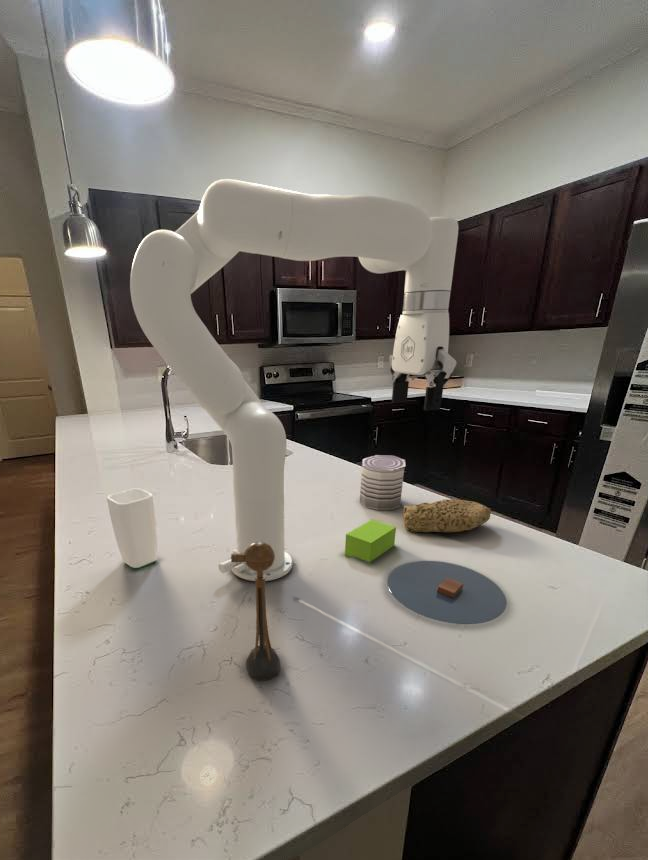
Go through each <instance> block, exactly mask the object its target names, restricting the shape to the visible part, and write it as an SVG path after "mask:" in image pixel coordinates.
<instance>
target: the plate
mask: <svg viewBox="0 0 648 860" xmlns="http://www.w3.org/2000/svg"><path fill="white" fill-rule="evenodd" d="M446 578H450V579H452V580H455V581H458V582H461V583H463V589H462V590H461V591H460V592H459V593H458V594H457V595H456V596H455V597H454V598H451V597H448V596H446V595H443V594H441V593H438V592H437V588H438V586H439V585H440V584H441V583H442V582H443V581H444V580H445V579H446ZM386 583H387V588H388V590H389V592H390V594H391V595H392V596H393V598H394V599H395V600H396V601H397V602H398V603H400V605H402V606H404V607H405V608H406V609H408V610H410V611H412V612H414V613H416V614H418V615H420V616H423V617H425V618H428V619H431V620H435V621H439V622H443V623H449V624H457V625H474V624H475V625H477V624H483V623H486V622H490V621H492V620H495V619H497V618H498V617H500V616H501V615H502V614H503V613H504V612H505V610H506V607H507V598H506V595H505V594H504V592H503V590H502V588H500V586H498V585H497V583H495V582H494V581H493V580H492V579H490V578H489V577H487V576H485V575H484V574H482V573H480V572H478V571H476V570H474V569H472V568H468V567H466V566H462V565H460V564H455V563H450V562H447V561H446V562H445V561H439V560H418V561H412V562H407V563H404V564H401V565H399V566H397V567H396V568H394V569H393V570H392V571H391V572H390V573H389V574H388V576H387V580H386Z"/></svg>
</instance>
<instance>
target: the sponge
mask: <svg viewBox="0 0 648 860" xmlns="http://www.w3.org/2000/svg"><path fill="white" fill-rule="evenodd" d="M491 514H492V510H491V508H490V507H488V506H486V505H484V504H482V503H480V502H476V501H472V500H471V501H470V500H465V499H453V498H452V499H451V498H450V499H442V500H438V501H437V500H436V501H435V502H432V503H429V502H422V503H418V504H412V505H403V510H402V517H403V523H404V525H403V526H404V529H405V530H406V531H408V532H409V531H410V532H413V533H433V532H434V533H461V532H464V531H471V530H472V529H475V528H477V527H479V526H482V525H484V524H485V523H487V522H488V521H489V520H490V519H491Z"/></svg>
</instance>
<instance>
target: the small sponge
mask: <svg viewBox="0 0 648 860" xmlns="http://www.w3.org/2000/svg"><path fill="white" fill-rule="evenodd" d="M396 531H397V526H394V525H391V524H388V523H386V522H381V521H378V520H375V519H369V520H368V521H366V522H365V523H363V524H361V525H359V526H358V527H356V528H354V529H352V530H351V531H349V532H347V533H346V534H345V545H344V546H345V547H344V556H346V557H349V558H352V557H354V558H357V559H359V560H362V561H365V562H367V563H371V562H372V561H374V560H375V559H377V558H378V557H380V556H381V555H383V554H384V553H385V552H387V551H388V550H390V549H391V548H393V547H394V546H395V541H396V533H397V532H396Z"/></svg>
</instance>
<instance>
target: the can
mask: <svg viewBox="0 0 648 860" xmlns="http://www.w3.org/2000/svg"><path fill="white" fill-rule="evenodd" d="M405 467H407V466H406V459H404V458H401V457H399V456H396V455H391V454H389V455H385V454H383V455H382V454H374V455H371V456H368V457H365V458H363V459H362V461H361V477H360V492H359V504H361V505H362V506H363V507H365V508H367V509H370V510H371V509H372V510H375V511H393V510H395V509H398V508H400V507H401V501H402V493H403V485H404V474H405Z"/></svg>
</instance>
